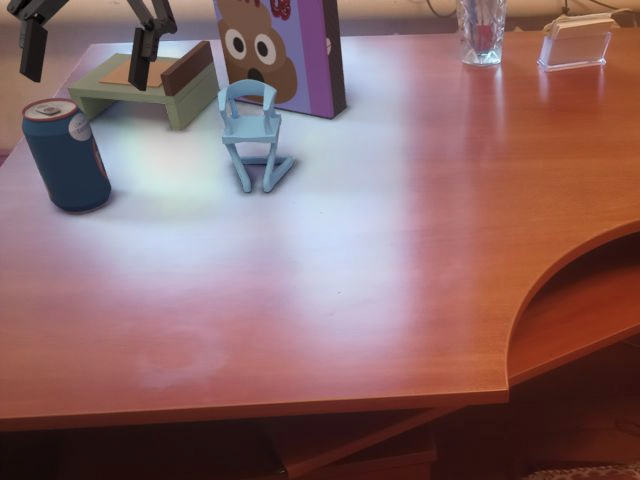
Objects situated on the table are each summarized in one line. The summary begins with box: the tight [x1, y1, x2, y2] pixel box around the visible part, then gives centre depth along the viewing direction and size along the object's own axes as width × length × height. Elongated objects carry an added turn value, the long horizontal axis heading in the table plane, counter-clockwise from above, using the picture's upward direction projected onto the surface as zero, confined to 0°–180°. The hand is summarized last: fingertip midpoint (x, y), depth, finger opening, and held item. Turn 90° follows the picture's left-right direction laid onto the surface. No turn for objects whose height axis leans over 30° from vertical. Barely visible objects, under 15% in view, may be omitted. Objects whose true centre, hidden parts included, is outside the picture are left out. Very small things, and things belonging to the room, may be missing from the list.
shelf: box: [66, 39, 221, 131], centre depth 108 cm, size 16×14×8 cm
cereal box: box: [212, 0, 347, 120], centre depth 104 cm, size 17×5×24 cm, turn 69°
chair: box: [217, 79, 294, 193], centre depth 91 cm, size 8×8×12 cm
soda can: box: [21, 97, 112, 215], centre depth 85 cm, size 7×7×12 cm
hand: (82, 82), depth 86 cm, fingers open, 13 cm apart
